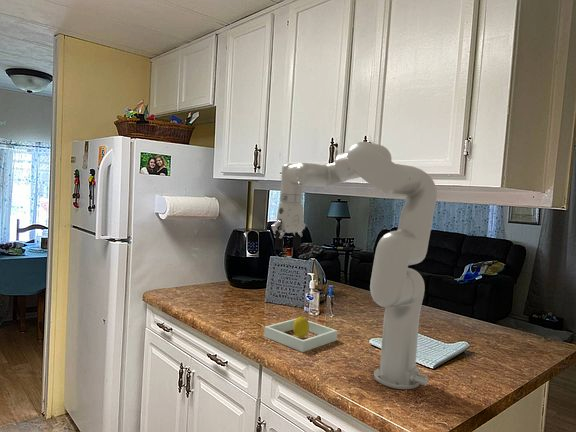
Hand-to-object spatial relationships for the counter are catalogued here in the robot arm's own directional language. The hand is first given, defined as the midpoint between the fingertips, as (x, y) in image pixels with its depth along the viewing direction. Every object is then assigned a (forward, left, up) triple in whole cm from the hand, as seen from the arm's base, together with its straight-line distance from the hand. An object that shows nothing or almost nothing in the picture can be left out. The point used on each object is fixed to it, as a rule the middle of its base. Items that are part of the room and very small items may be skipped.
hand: (287, 248), depth 149 cm
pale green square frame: (-6, -3, -31) cm, 32 cm away
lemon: (-6, -3, -31) cm, 32 cm away
